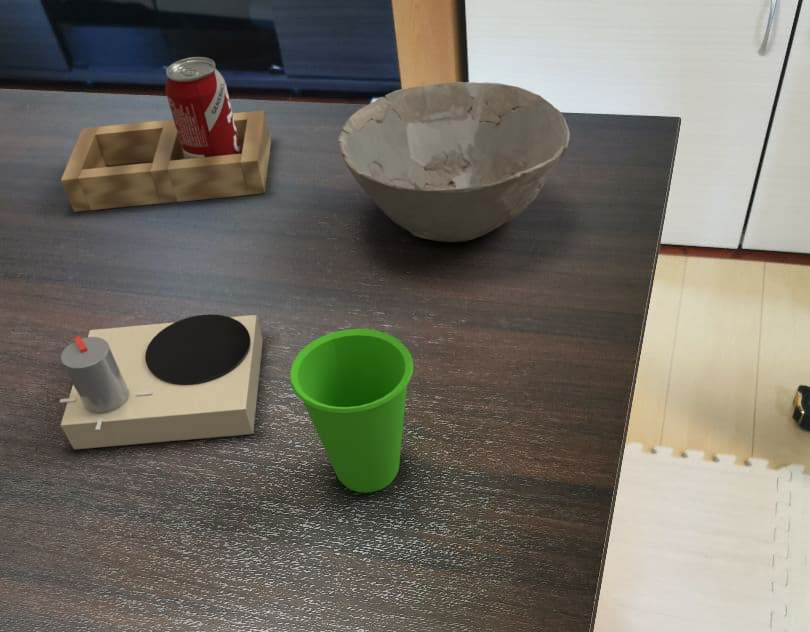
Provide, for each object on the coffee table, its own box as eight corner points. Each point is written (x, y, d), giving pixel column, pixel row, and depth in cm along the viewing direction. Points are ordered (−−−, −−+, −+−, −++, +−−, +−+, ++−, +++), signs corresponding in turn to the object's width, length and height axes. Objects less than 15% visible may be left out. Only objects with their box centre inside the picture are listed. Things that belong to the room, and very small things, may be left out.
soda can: (209, 192, 99) (180, 87, 90) (180, 173, 103) (148, 69, 94) (256, 169, 102) (232, 65, 93) (225, 152, 105) (199, 49, 96)
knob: (135, 400, 73) (114, 352, 68) (91, 419, 72) (67, 371, 67) (120, 376, 75) (98, 327, 71) (77, 394, 74) (53, 345, 70)
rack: (74, 212, 99) (60, 179, 96) (94, 159, 107) (82, 128, 104) (264, 193, 98) (257, 160, 95) (271, 142, 106) (264, 109, 103)
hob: (64, 459, 73) (49, 433, 71) (95, 355, 82) (82, 328, 79) (252, 443, 73) (244, 416, 70) (263, 339, 81) (256, 312, 79)
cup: (336, 527, 66) (313, 426, 57) (299, 454, 71) (273, 351, 63) (440, 488, 68) (433, 383, 59) (396, 419, 73) (383, 314, 64)
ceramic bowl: (571, 276, 84) (579, 181, 76) (342, 287, 86) (327, 195, 78) (554, 163, 97) (559, 72, 89) (357, 175, 99) (346, 87, 91)
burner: (138, 389, 74) (137, 387, 73) (154, 321, 80) (153, 319, 79) (246, 380, 73) (245, 377, 73) (254, 312, 79) (253, 309, 79)
